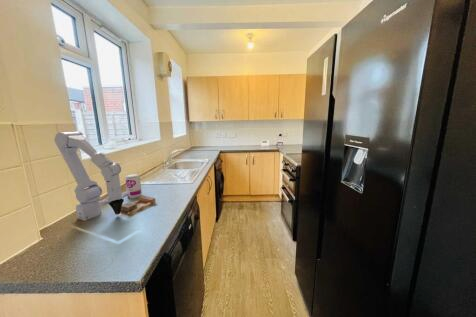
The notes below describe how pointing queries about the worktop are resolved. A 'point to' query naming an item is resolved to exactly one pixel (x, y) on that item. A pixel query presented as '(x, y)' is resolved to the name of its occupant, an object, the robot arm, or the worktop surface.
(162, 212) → the worktop surface
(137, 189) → the supplement can
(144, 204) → the guide channel
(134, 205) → the block
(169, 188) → the worktop surface
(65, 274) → the worktop surface
